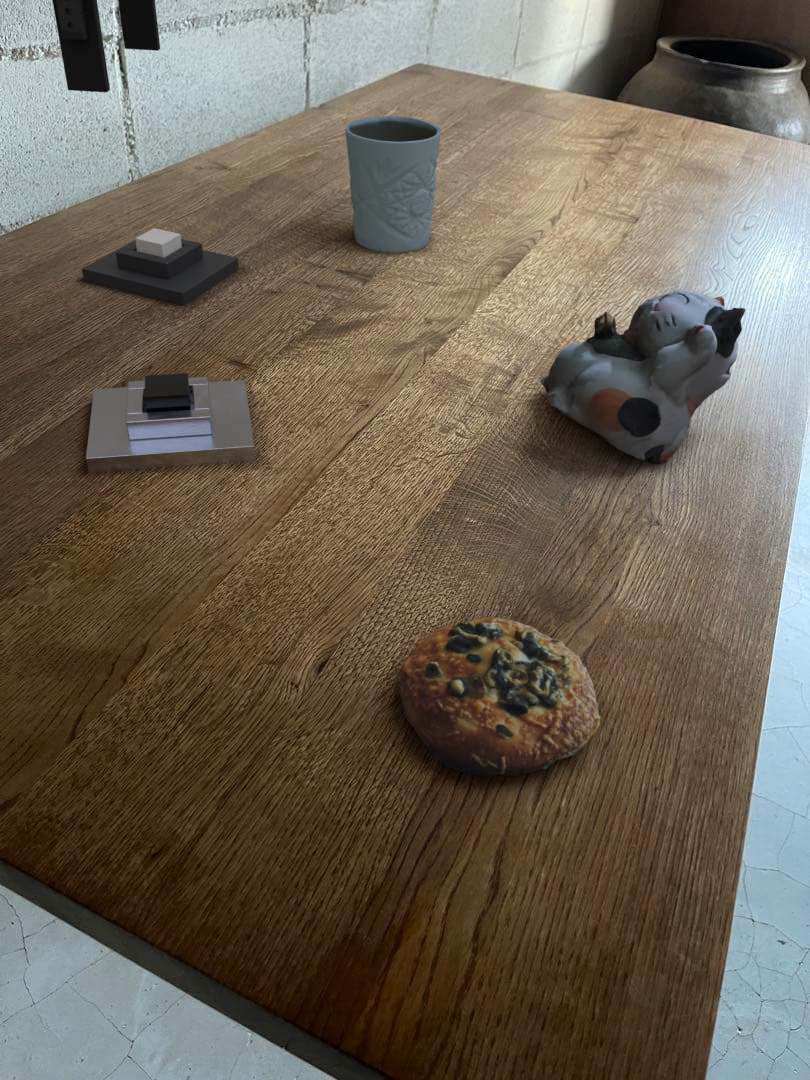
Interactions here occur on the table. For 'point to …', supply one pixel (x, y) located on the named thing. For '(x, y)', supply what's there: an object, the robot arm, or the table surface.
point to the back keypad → (162, 272)
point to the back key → (158, 242)
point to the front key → (167, 392)
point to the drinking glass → (392, 181)
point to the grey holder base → (169, 428)
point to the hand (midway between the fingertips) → (118, 68)
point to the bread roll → (497, 698)
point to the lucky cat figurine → (647, 372)
